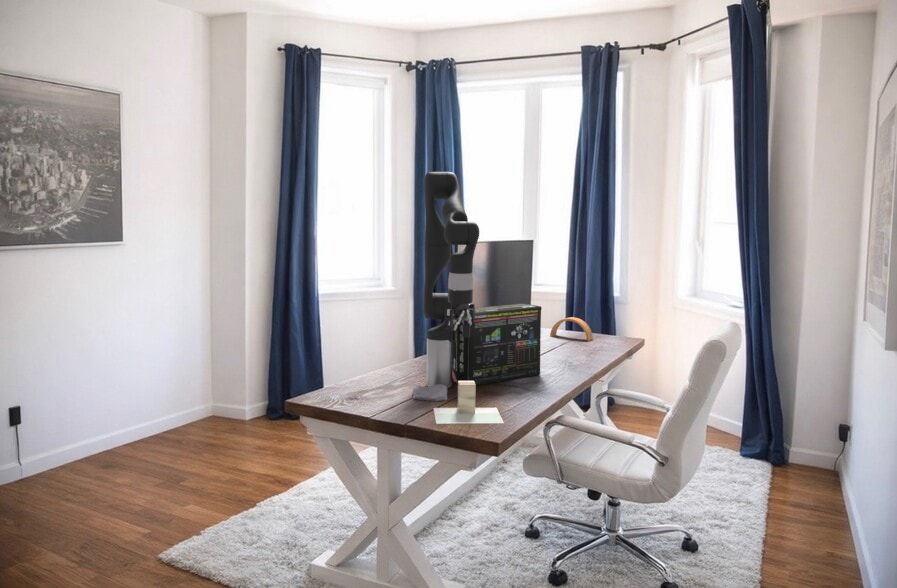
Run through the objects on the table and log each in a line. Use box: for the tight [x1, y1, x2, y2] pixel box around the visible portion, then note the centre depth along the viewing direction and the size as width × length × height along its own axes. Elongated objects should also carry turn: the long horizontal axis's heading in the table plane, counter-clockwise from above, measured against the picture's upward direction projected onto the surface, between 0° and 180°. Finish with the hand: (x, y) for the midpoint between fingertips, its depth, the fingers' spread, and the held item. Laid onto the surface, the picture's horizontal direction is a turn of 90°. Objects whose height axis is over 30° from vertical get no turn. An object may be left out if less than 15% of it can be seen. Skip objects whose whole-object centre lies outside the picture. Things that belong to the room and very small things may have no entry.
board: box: [433, 407, 505, 425], centre depth 217 cm, size 16×20×1 cm
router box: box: [452, 302, 543, 386], centre depth 265 cm, size 36×11×27 cm, turn 125°
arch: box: [549, 316, 593, 342], centre depth 349 cm, size 6×20×10 cm, turn 58°
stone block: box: [412, 384, 448, 402], centre depth 237 cm, size 12×5×10 cm
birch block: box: [457, 381, 477, 413], centre depth 221 cm, size 5×5×9 cm
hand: (459, 339), depth 219 cm, fingers open, 8 cm apart
